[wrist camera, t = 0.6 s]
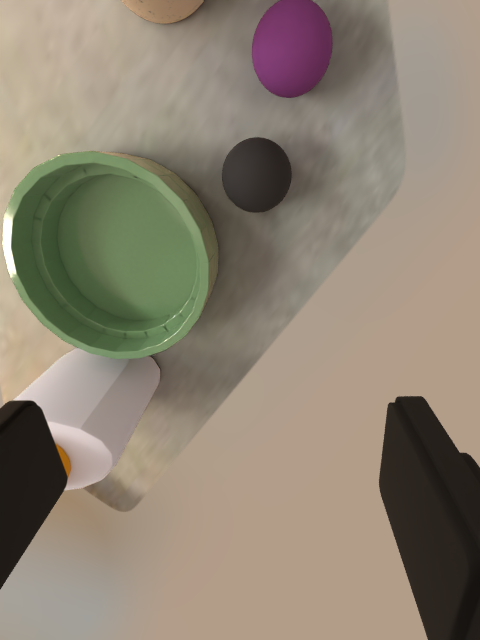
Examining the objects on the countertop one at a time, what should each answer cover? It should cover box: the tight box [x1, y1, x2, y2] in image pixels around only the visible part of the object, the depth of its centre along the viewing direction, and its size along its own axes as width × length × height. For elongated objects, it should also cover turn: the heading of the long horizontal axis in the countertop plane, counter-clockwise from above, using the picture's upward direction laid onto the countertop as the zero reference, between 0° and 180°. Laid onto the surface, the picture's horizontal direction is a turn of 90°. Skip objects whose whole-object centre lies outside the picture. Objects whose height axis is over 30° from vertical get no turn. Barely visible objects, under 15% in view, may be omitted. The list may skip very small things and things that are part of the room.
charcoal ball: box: [222, 137, 291, 212], centre depth 28 cm, size 6×6×6 cm
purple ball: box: [252, 0, 333, 98], centre depth 24 cm, size 6×6×6 cm
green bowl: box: [2, 151, 219, 359], centre depth 32 cm, size 18×18×6 cm
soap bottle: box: [13, 348, 160, 490], centre depth 31 cm, size 13×8×20 cm, turn 98°
